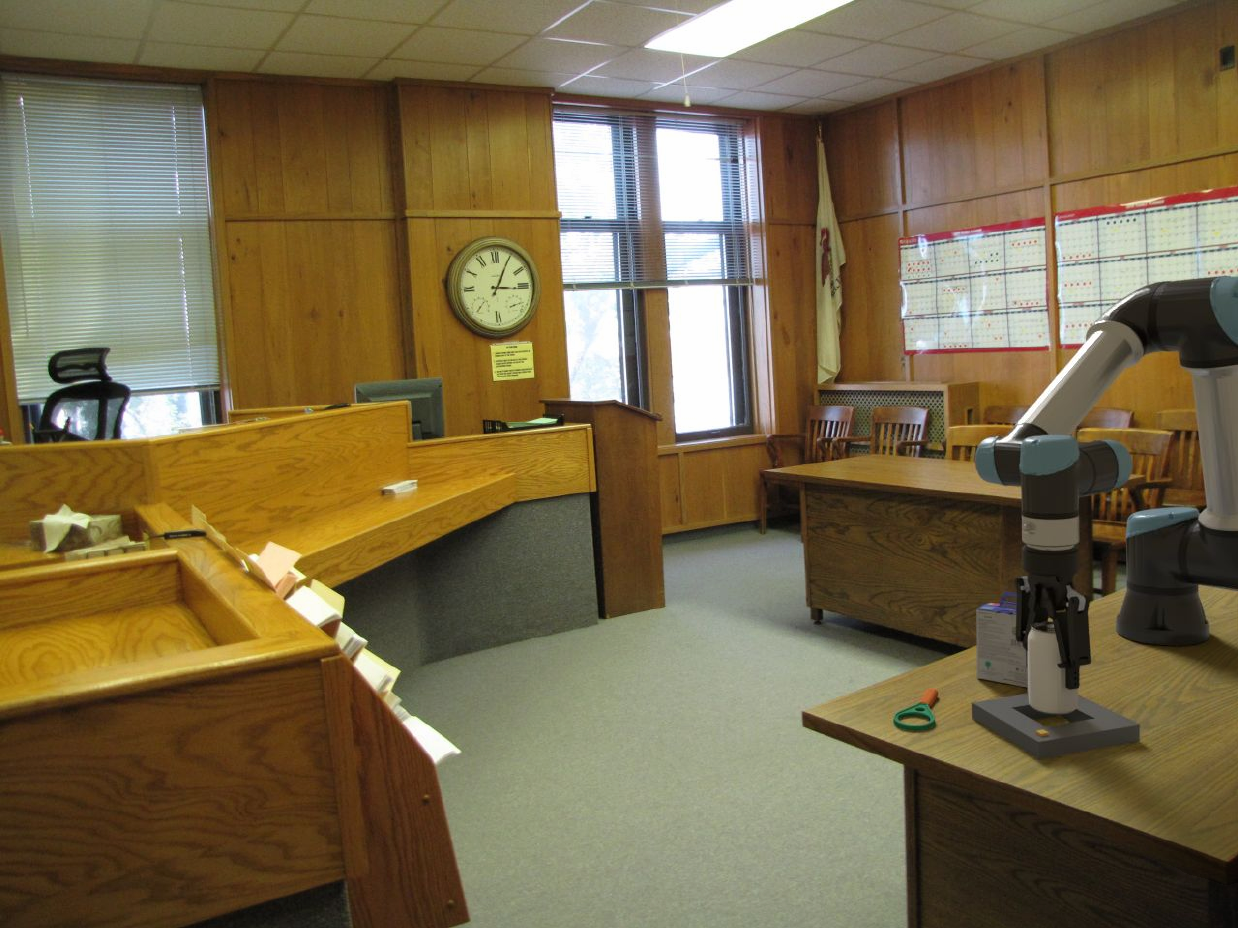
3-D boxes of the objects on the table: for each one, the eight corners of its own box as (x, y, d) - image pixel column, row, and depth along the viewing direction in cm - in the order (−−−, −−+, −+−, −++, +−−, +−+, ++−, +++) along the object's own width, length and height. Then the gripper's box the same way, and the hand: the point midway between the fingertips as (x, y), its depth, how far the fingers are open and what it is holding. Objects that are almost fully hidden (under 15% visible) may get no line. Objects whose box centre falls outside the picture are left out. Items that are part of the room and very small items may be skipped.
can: (1075, 700, 149) (1074, 620, 147) (1079, 716, 143) (1078, 634, 141) (1027, 697, 151) (1026, 619, 150) (1030, 714, 145) (1028, 632, 143)
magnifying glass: (929, 736, 149) (929, 724, 149) (888, 730, 152) (888, 719, 152) (951, 700, 162) (951, 690, 162) (913, 696, 165) (913, 686, 165)
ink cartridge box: (1048, 680, 167) (1047, 594, 165) (1035, 690, 163) (1033, 602, 161) (989, 669, 174) (988, 587, 172) (975, 679, 170) (973, 594, 168)
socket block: (1064, 702, 157) (1064, 684, 157) (1139, 741, 142) (1139, 721, 141) (972, 718, 153) (971, 699, 153) (1038, 759, 138) (1038, 739, 138)
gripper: (987, 535, 152) (990, 683, 155) (1072, 561, 134) (1073, 728, 137) (1031, 530, 154) (1033, 676, 157) (1121, 554, 136) (1121, 720, 139)
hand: (1052, 700), depth 147 cm, fingers closed on can, 6 cm apart
